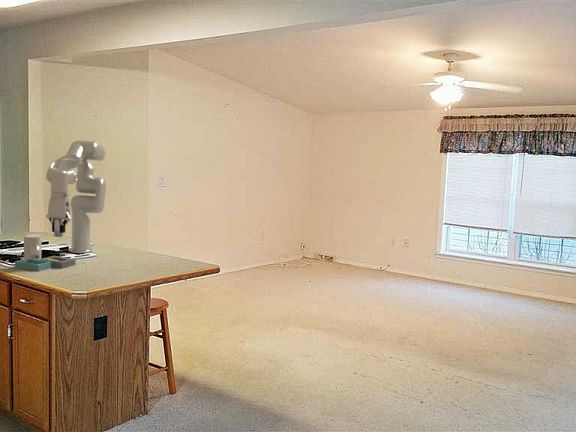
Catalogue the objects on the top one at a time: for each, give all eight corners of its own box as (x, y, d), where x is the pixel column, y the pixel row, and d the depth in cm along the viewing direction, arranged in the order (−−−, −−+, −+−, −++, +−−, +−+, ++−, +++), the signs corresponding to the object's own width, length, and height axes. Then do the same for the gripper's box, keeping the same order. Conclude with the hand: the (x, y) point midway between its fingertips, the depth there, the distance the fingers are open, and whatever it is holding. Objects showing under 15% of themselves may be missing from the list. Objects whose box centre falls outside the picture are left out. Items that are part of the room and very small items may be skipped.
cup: (28, 261, 279) (29, 237, 277) (20, 258, 284) (20, 235, 282) (44, 259, 285) (44, 236, 284) (36, 256, 290) (36, 234, 289)
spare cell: (34, 261, 279) (35, 243, 278) (41, 262, 278) (41, 244, 277) (28, 262, 275) (29, 245, 274) (35, 263, 274) (35, 246, 273)
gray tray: (54, 261, 282) (54, 255, 281) (75, 264, 278) (75, 258, 278) (39, 265, 272) (39, 258, 272) (61, 268, 268) (61, 261, 268)
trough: (28, 264, 272) (28, 258, 272) (51, 267, 268) (51, 261, 268) (15, 267, 264) (15, 261, 264) (38, 271, 260) (38, 265, 260)
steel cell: (57, 235, 276) (58, 217, 275) (64, 235, 275) (65, 218, 274) (52, 236, 272) (52, 218, 271) (59, 237, 271) (59, 218, 270)
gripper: (78, 196, 272) (77, 233, 275) (50, 193, 277) (50, 229, 279) (68, 197, 265) (67, 235, 267) (39, 194, 270) (39, 231, 272)
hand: (58, 231), depth 273 cm, fingers closed on steel cell, 4 cm apart
